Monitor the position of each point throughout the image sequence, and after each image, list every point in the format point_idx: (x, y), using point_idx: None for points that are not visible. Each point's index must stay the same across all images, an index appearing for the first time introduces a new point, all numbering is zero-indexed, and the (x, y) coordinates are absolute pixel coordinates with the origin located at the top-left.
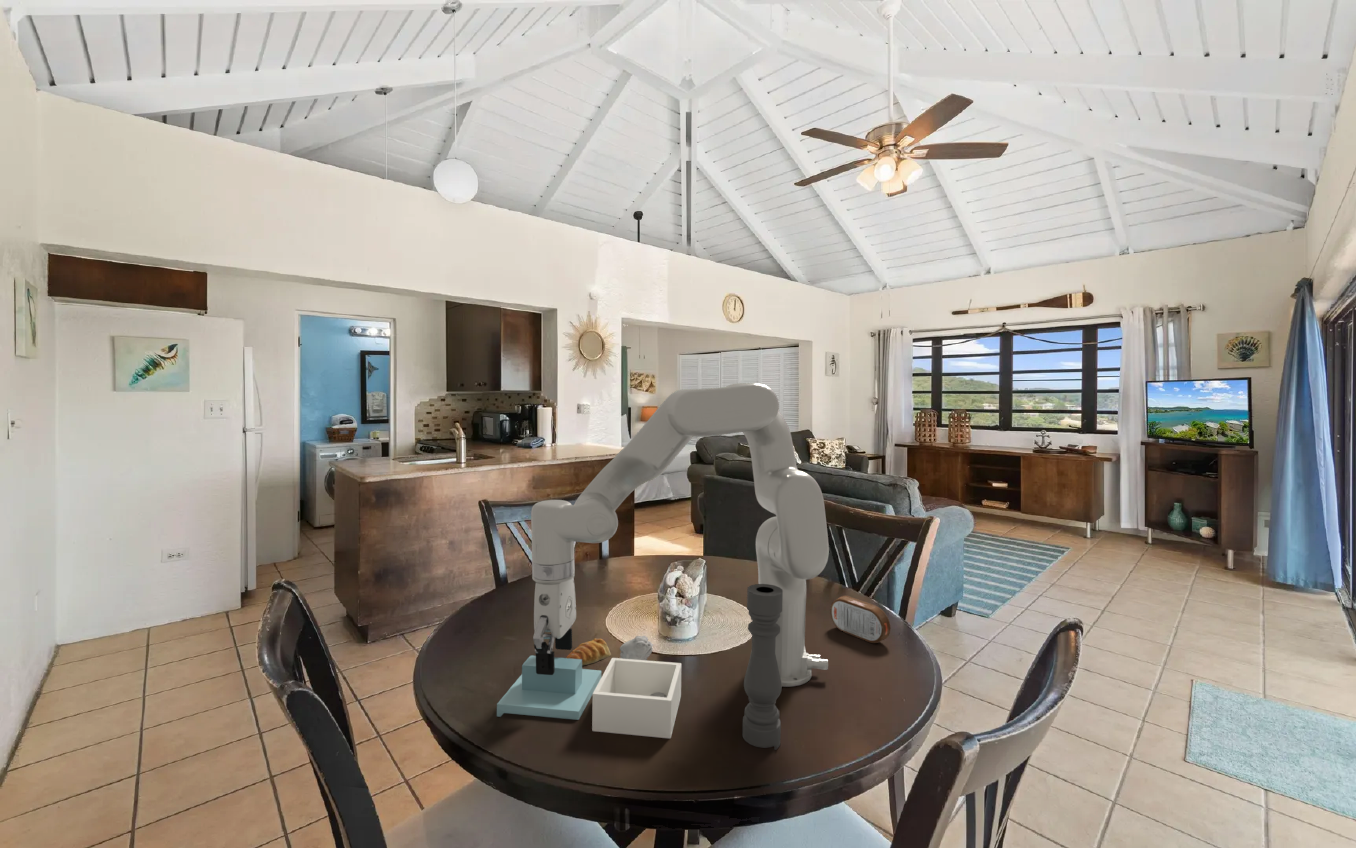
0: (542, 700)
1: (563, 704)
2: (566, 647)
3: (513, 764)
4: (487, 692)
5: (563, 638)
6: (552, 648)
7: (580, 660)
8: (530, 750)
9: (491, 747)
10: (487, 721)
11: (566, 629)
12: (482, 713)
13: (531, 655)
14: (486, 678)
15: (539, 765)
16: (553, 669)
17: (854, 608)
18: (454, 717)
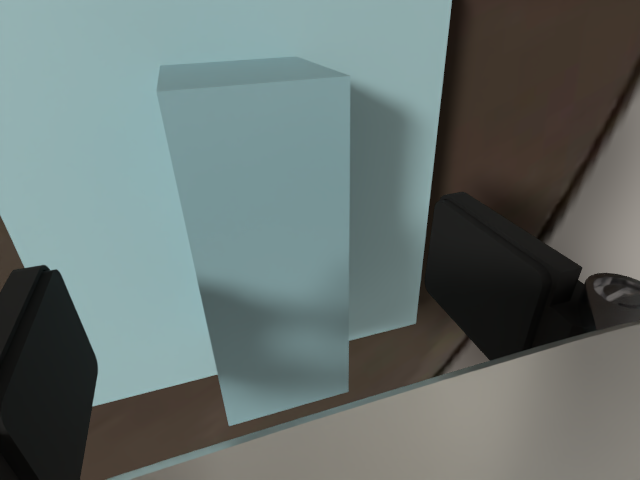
0: (377, 192)
1: (400, 80)
2: (65, 306)
3: (612, 121)
4: None
5: (56, 390)
6: (594, 302)
7: (184, 98)
8: (560, 103)
9: (534, 221)
10: (419, 304)
11: (569, 389)
12: (382, 340)
13: (229, 422)
14: None
15: (633, 35)
16: (480, 204)
17: None
18: (407, 382)
